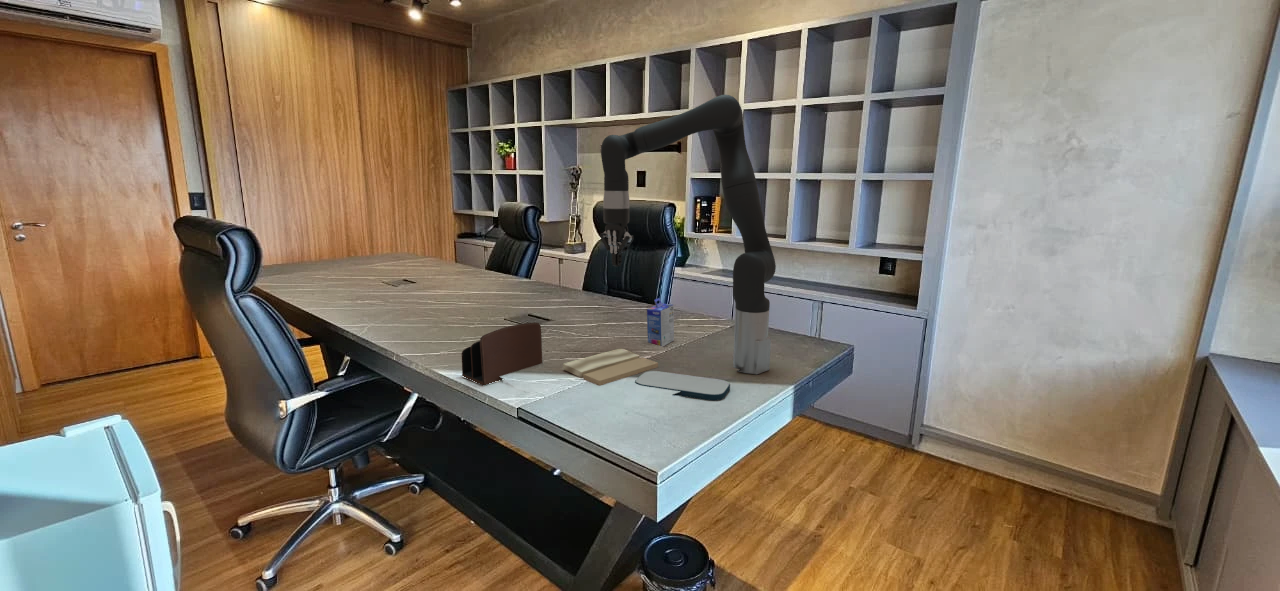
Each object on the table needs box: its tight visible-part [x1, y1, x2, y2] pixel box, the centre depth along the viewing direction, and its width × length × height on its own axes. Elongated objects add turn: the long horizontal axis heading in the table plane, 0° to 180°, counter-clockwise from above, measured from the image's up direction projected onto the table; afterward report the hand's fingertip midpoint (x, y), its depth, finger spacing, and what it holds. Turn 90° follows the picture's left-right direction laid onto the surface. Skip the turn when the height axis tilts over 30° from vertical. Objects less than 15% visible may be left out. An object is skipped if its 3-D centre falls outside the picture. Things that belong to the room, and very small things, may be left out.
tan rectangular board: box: [583, 357, 659, 386], centre depth 158 cm, size 16×23×2 cm
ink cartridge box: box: [646, 297, 675, 347], centre depth 186 cm, size 10×6×14 cm, turn 152°
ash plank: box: [562, 348, 641, 379], centre depth 160 cm, size 8×21×2 cm, turn 134°
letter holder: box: [461, 322, 543, 386], centre depth 157 cm, size 10×20×14 cm, turn 140°
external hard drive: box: [634, 370, 731, 402], centre depth 147 cm, size 24×12×2 cm, turn 68°
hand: (616, 266), depth 170 cm, fingers closed
